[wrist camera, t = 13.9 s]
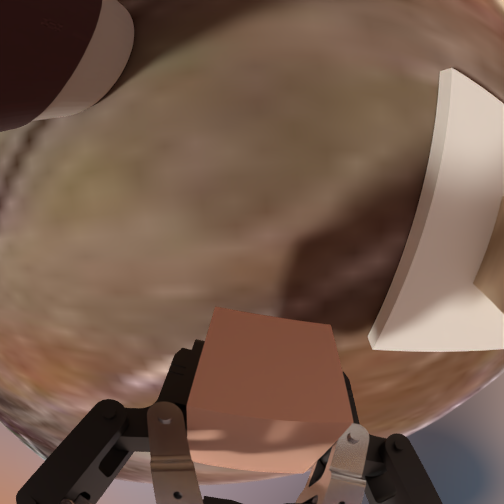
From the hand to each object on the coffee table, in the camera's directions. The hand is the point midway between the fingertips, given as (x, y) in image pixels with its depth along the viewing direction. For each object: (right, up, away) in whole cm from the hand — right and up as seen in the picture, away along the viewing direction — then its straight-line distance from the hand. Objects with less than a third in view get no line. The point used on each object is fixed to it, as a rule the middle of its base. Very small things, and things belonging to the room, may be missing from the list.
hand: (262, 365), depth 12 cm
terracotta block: (0, 0, +1) cm, 1 cm away
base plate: (+16, +6, 0) cm, 17 cm away
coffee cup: (-10, +16, -2) cm, 19 cm away
